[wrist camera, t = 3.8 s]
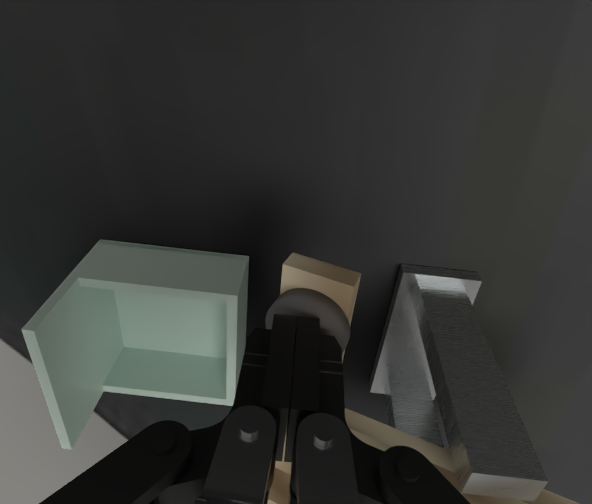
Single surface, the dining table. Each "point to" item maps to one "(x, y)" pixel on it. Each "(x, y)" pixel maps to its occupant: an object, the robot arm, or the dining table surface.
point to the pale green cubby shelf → (140, 330)
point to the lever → (336, 322)
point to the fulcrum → (453, 384)
